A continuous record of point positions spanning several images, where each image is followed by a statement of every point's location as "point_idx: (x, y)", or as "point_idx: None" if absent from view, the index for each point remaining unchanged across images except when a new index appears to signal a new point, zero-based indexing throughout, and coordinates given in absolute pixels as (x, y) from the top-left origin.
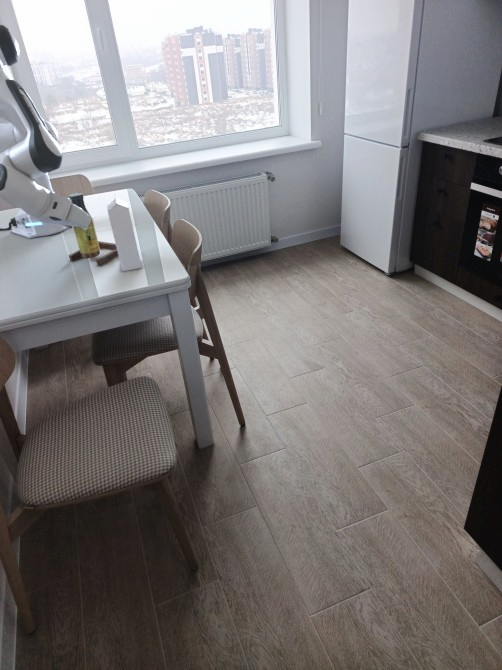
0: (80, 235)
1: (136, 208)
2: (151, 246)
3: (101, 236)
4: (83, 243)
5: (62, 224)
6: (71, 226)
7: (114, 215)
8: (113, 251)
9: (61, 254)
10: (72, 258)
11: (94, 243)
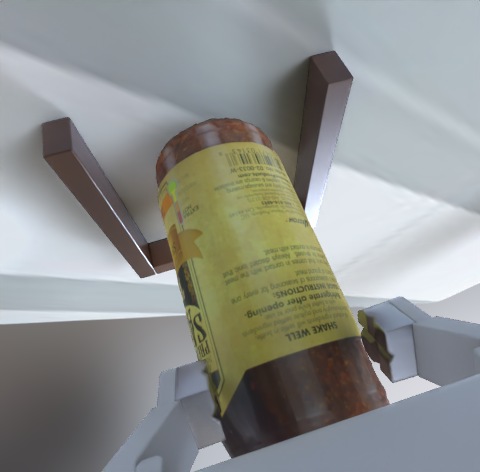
0: (239, 285)
1: (366, 302)
2: (95, 301)
3: (357, 233)
4: (209, 225)
5: (373, 441)
6: (364, 326)
7: None
8: (120, 240)
9: (453, 72)
10: (318, 73)
11: (171, 252)
